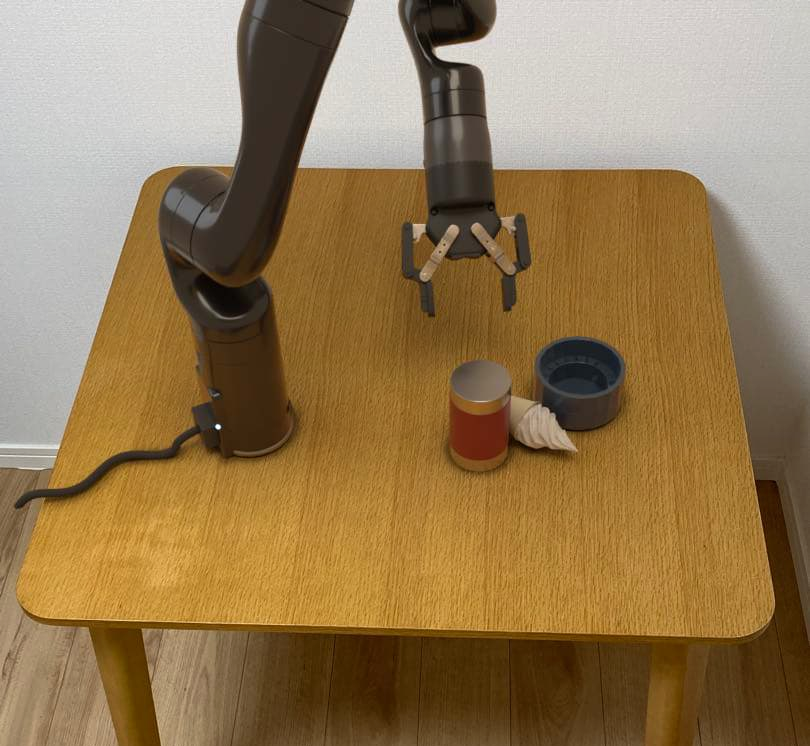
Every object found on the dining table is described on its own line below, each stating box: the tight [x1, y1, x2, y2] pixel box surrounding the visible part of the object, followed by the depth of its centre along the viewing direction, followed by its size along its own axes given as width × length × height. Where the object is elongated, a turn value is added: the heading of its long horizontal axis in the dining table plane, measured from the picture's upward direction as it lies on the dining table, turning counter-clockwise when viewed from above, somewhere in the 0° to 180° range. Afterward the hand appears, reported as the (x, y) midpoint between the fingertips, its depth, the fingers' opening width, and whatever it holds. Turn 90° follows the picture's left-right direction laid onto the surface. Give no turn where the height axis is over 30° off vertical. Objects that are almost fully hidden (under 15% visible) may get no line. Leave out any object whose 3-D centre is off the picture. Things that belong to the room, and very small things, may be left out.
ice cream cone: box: [509, 394, 579, 453], centre depth 135 cm, size 5×5×15 cm
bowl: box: [531, 335, 627, 431], centre depth 138 cm, size 10×10×6 cm
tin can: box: [448, 359, 512, 473], centre depth 131 cm, size 7×7×11 cm
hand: (469, 314), depth 132 cm, fingers open, 8 cm apart
